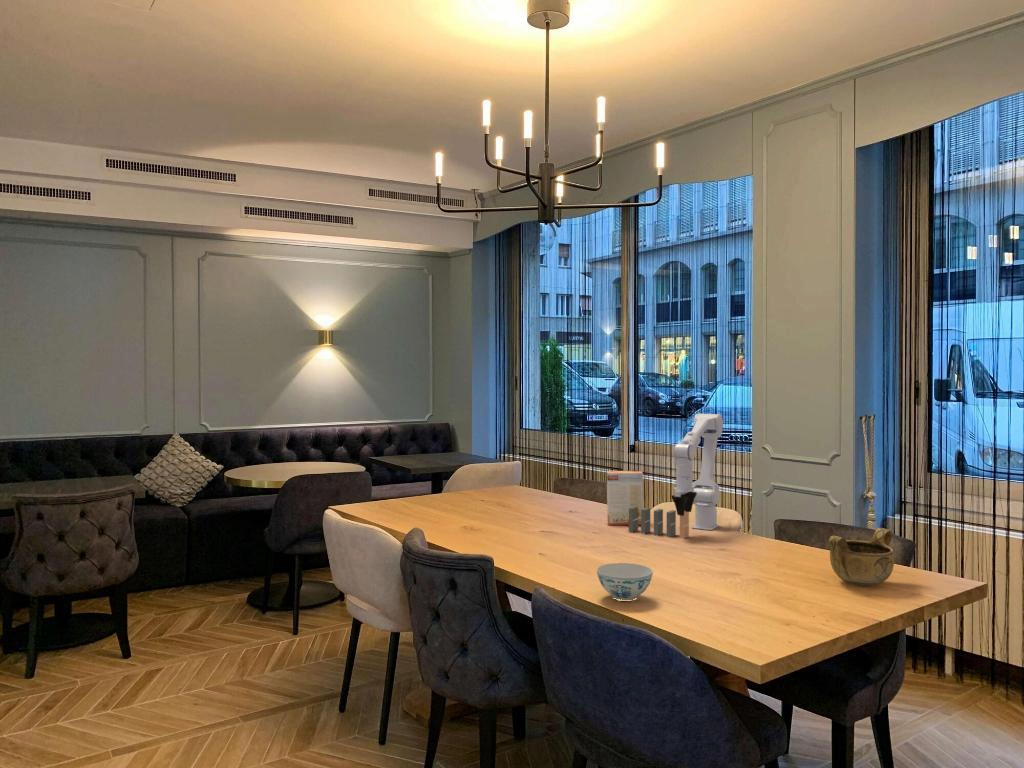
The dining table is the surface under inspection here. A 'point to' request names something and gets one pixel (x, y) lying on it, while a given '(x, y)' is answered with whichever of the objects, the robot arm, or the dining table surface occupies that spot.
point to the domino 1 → (645, 520)
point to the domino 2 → (658, 521)
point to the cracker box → (623, 495)
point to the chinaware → (624, 579)
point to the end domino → (633, 519)
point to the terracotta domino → (684, 525)
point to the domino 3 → (671, 523)
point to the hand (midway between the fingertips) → (684, 513)
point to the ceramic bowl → (863, 559)
